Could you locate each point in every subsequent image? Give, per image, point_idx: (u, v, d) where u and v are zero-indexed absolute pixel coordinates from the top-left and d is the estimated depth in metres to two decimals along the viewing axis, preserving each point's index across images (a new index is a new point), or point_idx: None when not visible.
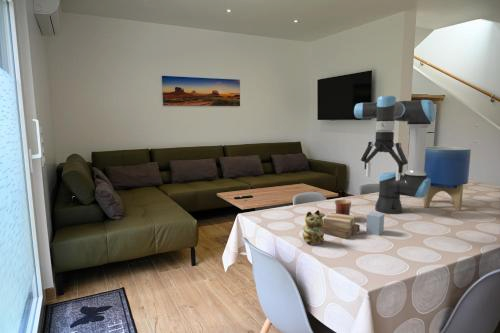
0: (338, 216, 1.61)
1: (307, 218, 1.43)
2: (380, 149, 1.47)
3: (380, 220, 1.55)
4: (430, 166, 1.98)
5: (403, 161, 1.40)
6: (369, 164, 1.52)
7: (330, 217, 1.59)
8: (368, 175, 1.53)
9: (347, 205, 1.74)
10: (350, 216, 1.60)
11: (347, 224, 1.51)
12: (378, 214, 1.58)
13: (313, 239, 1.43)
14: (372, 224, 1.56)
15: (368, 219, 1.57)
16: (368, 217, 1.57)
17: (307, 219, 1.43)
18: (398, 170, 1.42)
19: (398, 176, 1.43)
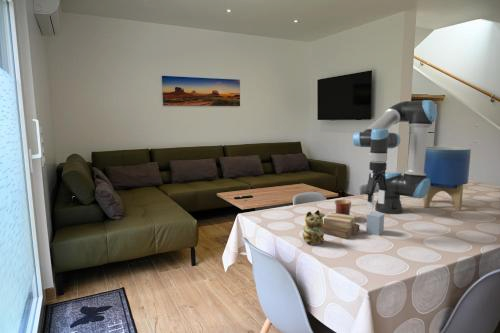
0: (338, 216, 1.61)
1: (307, 218, 1.43)
2: None
3: (380, 220, 1.55)
4: (430, 166, 1.98)
5: None
6: (381, 192, 1.61)
7: (331, 216, 1.59)
8: (380, 202, 1.62)
9: (347, 205, 1.74)
10: (351, 216, 1.60)
11: (347, 224, 1.51)
12: (378, 214, 1.58)
13: (313, 239, 1.43)
14: (372, 224, 1.56)
15: (368, 219, 1.57)
16: (368, 217, 1.57)
17: (307, 219, 1.43)
18: None
19: (369, 204, 1.52)
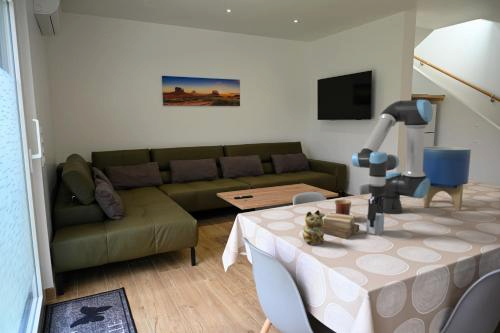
0: (337, 216, 1.61)
1: (307, 218, 1.43)
2: None
3: (380, 219, 1.55)
4: (430, 166, 1.98)
5: None
6: None
7: (330, 217, 1.59)
8: None
9: (347, 205, 1.74)
10: (350, 216, 1.60)
11: (347, 224, 1.51)
12: (378, 214, 1.58)
13: (313, 239, 1.43)
14: None
15: None
16: None
17: (307, 219, 1.43)
18: (370, 224, 1.56)
19: (371, 229, 1.56)
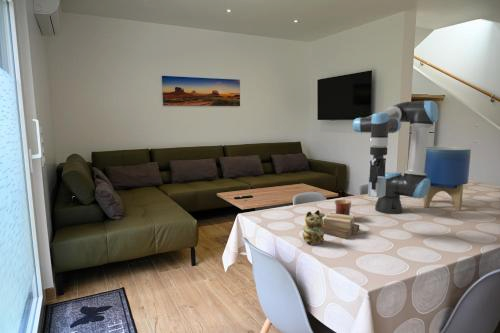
0: (337, 216, 1.61)
1: (307, 218, 1.43)
2: None
3: (382, 182, 1.53)
4: (430, 166, 1.98)
5: None
6: None
7: (330, 217, 1.59)
8: None
9: (347, 205, 1.74)
10: (350, 216, 1.60)
11: (347, 224, 1.51)
12: (380, 177, 1.55)
13: (313, 239, 1.43)
14: None
15: (370, 182, 1.55)
16: None
17: (307, 219, 1.43)
18: (371, 186, 1.54)
19: (372, 192, 1.54)
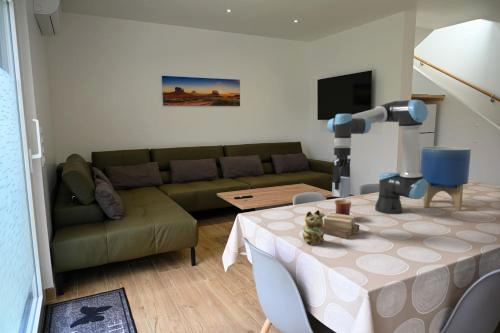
0: (338, 216, 1.60)
1: (307, 218, 1.43)
2: None
3: (346, 182, 1.53)
4: (430, 166, 1.98)
5: None
6: None
7: (330, 217, 1.59)
8: None
9: (347, 205, 1.74)
10: (350, 216, 1.60)
11: (348, 224, 1.51)
12: (344, 177, 1.56)
13: (313, 239, 1.43)
14: None
15: None
16: None
17: (307, 219, 1.43)
18: (335, 186, 1.54)
19: (336, 192, 1.54)
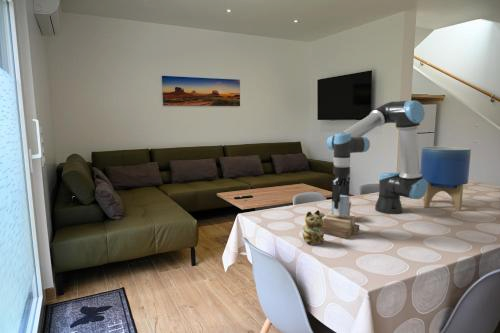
0: (338, 216, 1.61)
1: (307, 218, 1.43)
2: None
3: (345, 201, 1.55)
4: (430, 166, 1.98)
5: None
6: None
7: (330, 217, 1.59)
8: None
9: None
10: (350, 216, 1.60)
11: (347, 224, 1.51)
12: (343, 196, 1.57)
13: (313, 239, 1.43)
14: None
15: (333, 201, 1.57)
16: None
17: (307, 219, 1.43)
18: None
19: (335, 211, 1.56)
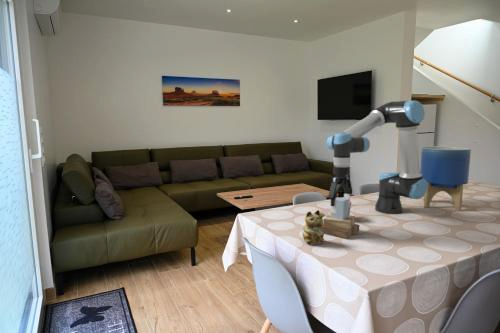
0: None
1: (307, 218, 1.43)
2: None
3: (345, 204, 1.55)
4: (430, 166, 1.98)
5: None
6: (346, 195, 1.62)
7: (330, 217, 1.59)
8: None
9: None
10: (350, 216, 1.60)
11: (347, 224, 1.51)
12: (343, 199, 1.57)
13: (313, 239, 1.43)
14: None
15: None
16: None
17: (307, 219, 1.43)
18: (331, 203, 1.53)
19: (332, 209, 1.53)
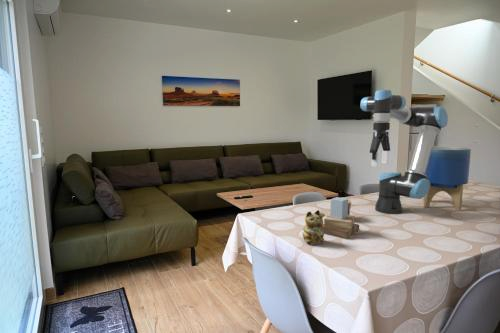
0: None
1: (307, 218, 1.43)
2: None
3: (344, 204, 1.55)
4: (430, 166, 1.98)
5: None
6: (385, 152, 1.68)
7: (330, 217, 1.59)
8: (383, 162, 1.69)
9: None
10: (350, 216, 1.60)
11: (349, 224, 1.51)
12: (342, 199, 1.57)
13: (313, 239, 1.43)
14: (335, 208, 1.56)
15: (332, 204, 1.57)
16: (332, 202, 1.57)
17: (307, 219, 1.43)
18: (372, 157, 1.59)
19: (373, 162, 1.59)
